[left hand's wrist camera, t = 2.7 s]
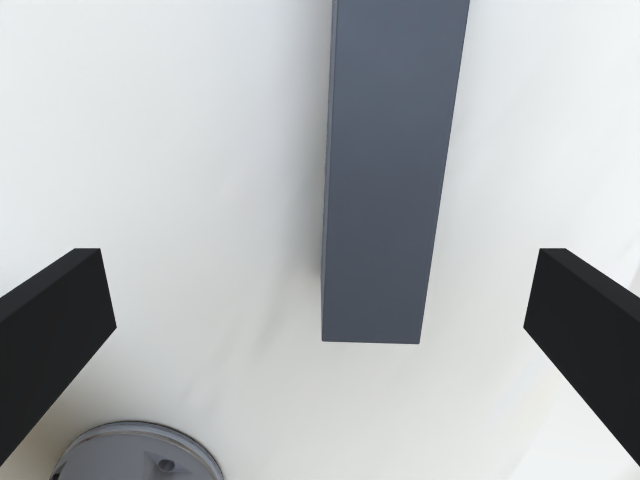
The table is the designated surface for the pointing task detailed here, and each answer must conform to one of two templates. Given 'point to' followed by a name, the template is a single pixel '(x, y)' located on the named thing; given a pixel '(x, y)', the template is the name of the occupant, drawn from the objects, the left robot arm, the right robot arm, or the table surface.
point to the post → (386, 162)
